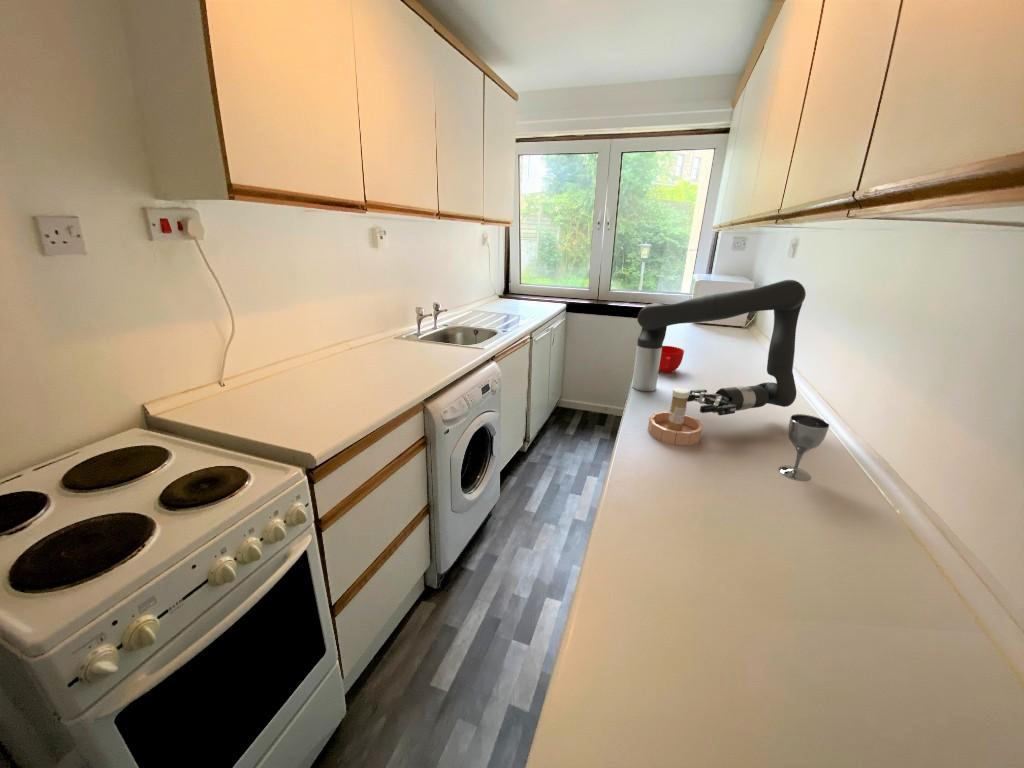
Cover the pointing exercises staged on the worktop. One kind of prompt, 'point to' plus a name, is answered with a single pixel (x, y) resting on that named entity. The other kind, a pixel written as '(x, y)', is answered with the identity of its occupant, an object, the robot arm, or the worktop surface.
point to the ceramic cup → (670, 359)
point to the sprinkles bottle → (678, 409)
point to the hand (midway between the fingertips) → (691, 403)
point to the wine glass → (804, 441)
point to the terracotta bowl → (685, 437)
